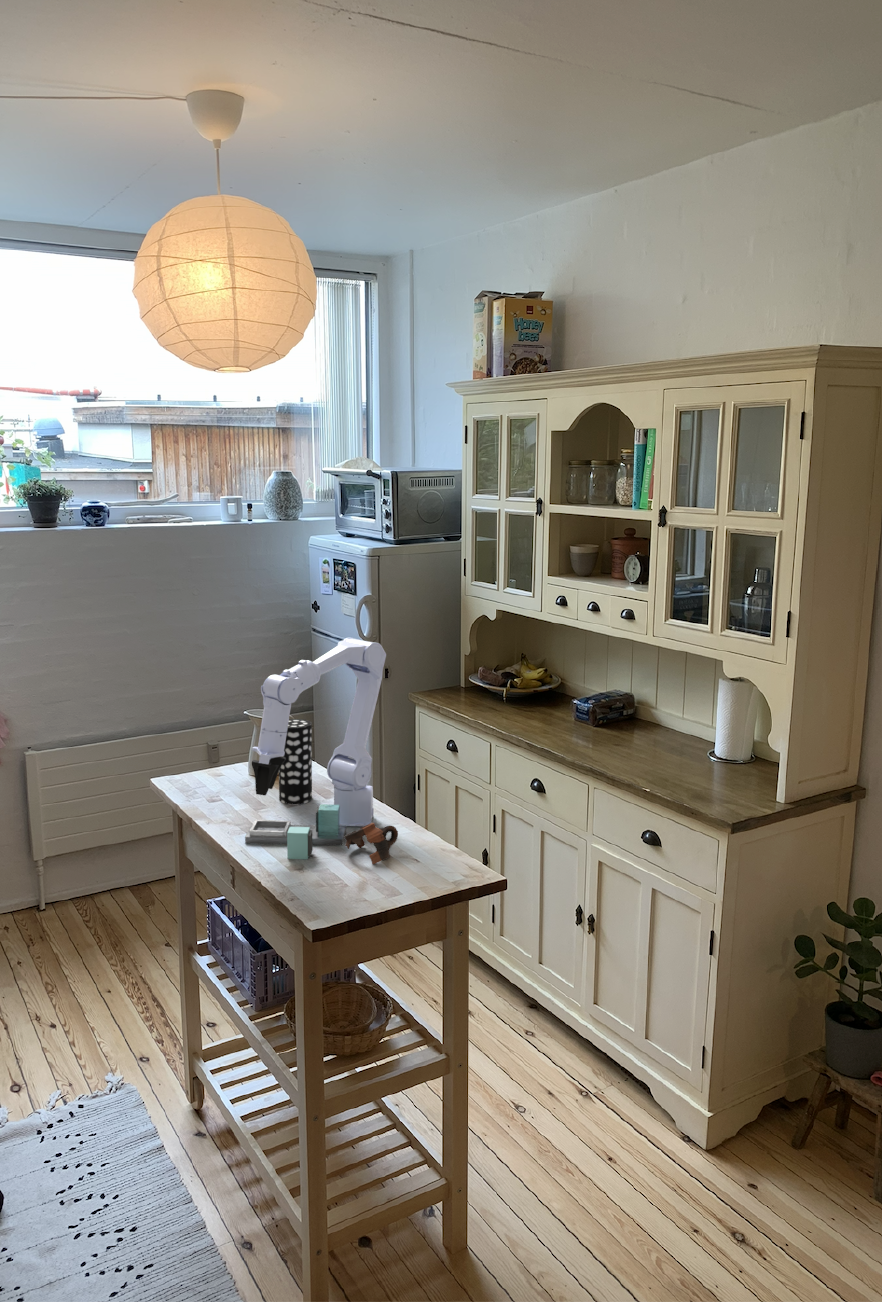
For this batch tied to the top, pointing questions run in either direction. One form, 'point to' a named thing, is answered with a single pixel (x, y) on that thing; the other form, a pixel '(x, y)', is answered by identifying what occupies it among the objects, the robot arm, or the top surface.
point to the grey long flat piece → (322, 832)
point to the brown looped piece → (373, 840)
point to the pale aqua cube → (299, 843)
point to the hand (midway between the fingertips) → (264, 791)
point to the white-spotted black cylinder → (297, 764)
